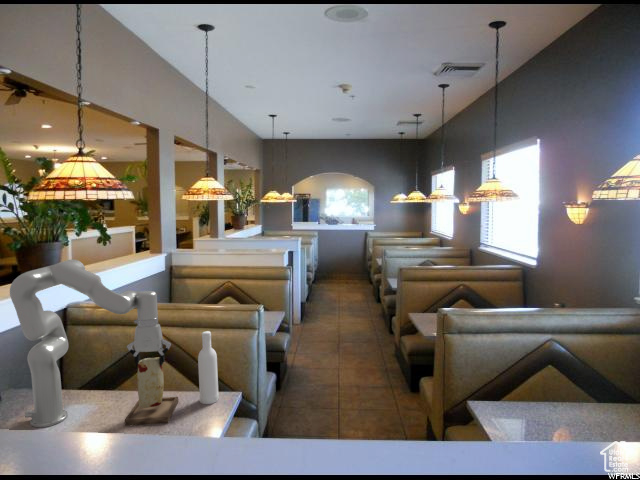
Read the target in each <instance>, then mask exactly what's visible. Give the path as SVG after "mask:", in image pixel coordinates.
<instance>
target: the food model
mask: <svg viewBox="0 0 640 480" xmlns="http://www.w3.org/2000/svg"><path fill="white" fill-rule="evenodd" d="M137 395H138V400H139V406H140V407H143V408H149V407H154V406H159V405H160V404H161V402H162V398H163V397H164V396H163V395H164V369H163V364H162V365H160V360H159V356H158V357H147V358H146V357H145V358H143V359H140V361H139V363H138V366H137Z"/></svg>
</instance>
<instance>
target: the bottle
mask: <svg viewBox="0 0 640 480" xmlns="http://www.w3.org/2000/svg"><path fill="white" fill-rule="evenodd" d="M201 338H202V340H201V341H202V342H201V343H202V349H201V350H200V351H199V353H198V356H197V361H198V362H197V365H198V366H197V367H198V384H199V390H198V391H199V403H201V404H202V405H212V404H215V403H218V401H219V397H220V396H219V381H218V380H219V377H218V357H217V356H218V354H217V352H216V350H215V349H214V348H213V347H212V332H211V331H210V330H207V331H206V330H205V331H203V332H202V333H201Z"/></svg>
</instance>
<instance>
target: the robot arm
mask: <svg viewBox="0 0 640 480" xmlns="http://www.w3.org/2000/svg"><path fill="white" fill-rule="evenodd" d="M102 282H103V281H102V278H101V277H100V275H97V274H95V273H93V272H91V271H89V270H87V269H86V267H85V264H84V263H82V261H80V260H78V259H73V258H72V259H68V260H64V261H60V262H58V263H55V264H52V265H48V266H44V267H39V268H37V269H32V270H28V271H25V272H23V273H21V274H20V275H18V276H17V277H16V278H15V279H13V281H12V283H11V285H10V287H9V296H10V299H11V302H12V304H13V306H14V309H15V311H16V316H17V319H18V322H19V324H20V327H21V331H22V333H23V336H24V337H25V338H26V339H28V341H32V342H33V341H38V340H40V339H41V341H39V342H38V343H36V344H35V345H34V346H32V348H31V349H30V350H29V352H28V353H27V364H28V367H29V370H30V377H31V385H32V398H33V409H27V410H25V411H24V418H31V420H30V421H29V423H30V425H31V427H34V428H45V427H51V426H54V425H56V424H59V423H61V422H63V421H64V420H66V419H67V417H68V415H69V414H68V410H65V409H63V406H64V405H63V395H62V381H61V380H62V379H61V372H60V368H59V366H58V363H57V361H58V360H59V359H61V358H62V357H64V355H66V353H67V352H68V350H69V340H68V337H67V333H66V331H65V328H64V325H63V322H62V319H61V317H60V316H59V314H57V313H56V312H55V311H52V310H48V309H47V310H44V308H43V304H42V302H41V300H40V299H39V298H38V297H37V295H36V293H39V292H41V291H44V290H46V289H50V288H53V287H57V286H59V285H63V286H65V287H67V288H70V289H72V290H74V291H76V292H79V293H81V294H83V295H85V296H87V297H88V298H89V299H90V300H91V301H92V302H93V303H94V304H95V305H97V306H98V307H100V308H102V309H104V310H106V311H108V312H111V313H113V314H117V315H125V314H127V313H129V312H130V311H132V310H134V309H136V311H137V319H134V321H133V323H134V324H136V327H135V330H134V341H132V342H131V343H129V344H128V345H127V346H126V348H127V349H128V351H129V353H130V354H131V355H132V356H133V357H134V364H135V366H136V367H138V363H139V361H140V360H141V354H140V353H149V352H151V353H152V352H158V353H159V356H158V357H159V360H160V365H162V366H163V364H164V363H165V362H166V361H165V359H166V358H165V354H166V353H167V352H168V351H169V350H170V348H171V345H172V343H171V342H170V341H168V340H166V339H164V338H163V331H162V328H161V324H160V323H159V314H158V295H157V293H156V291H153V290H143V291H139V290H131V289H130V290H126V291H123V292H122V293H118V292H115V291H113V290H111V289H109V288H107V287H106V286H105V285H104V284H103V283H102ZM164 345H165V348H163V346H164ZM133 347H134V348H133Z"/></svg>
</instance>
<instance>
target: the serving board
mask: <svg viewBox="0 0 640 480" xmlns="http://www.w3.org/2000/svg"><path fill="white" fill-rule="evenodd" d="M178 404H179V396H168V397H167V396H165V397H164V396H163V398H162V402H161V404H160V405H159V406H154V407H149V408H143V407H140V406H139V399H138V401H137V402H136V403H135V405H134V406H132V409H131V410H130V411H129V413H128V414H127V416H126V417H125V418H124V427H127V426H128V427H129V426H130V425H132V426H143V425H144V426H147V425H160V424H168V423H169V422H170V420H171V418H172V416H173V414H174V412H175V410H176V408H177V406H178Z"/></svg>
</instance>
